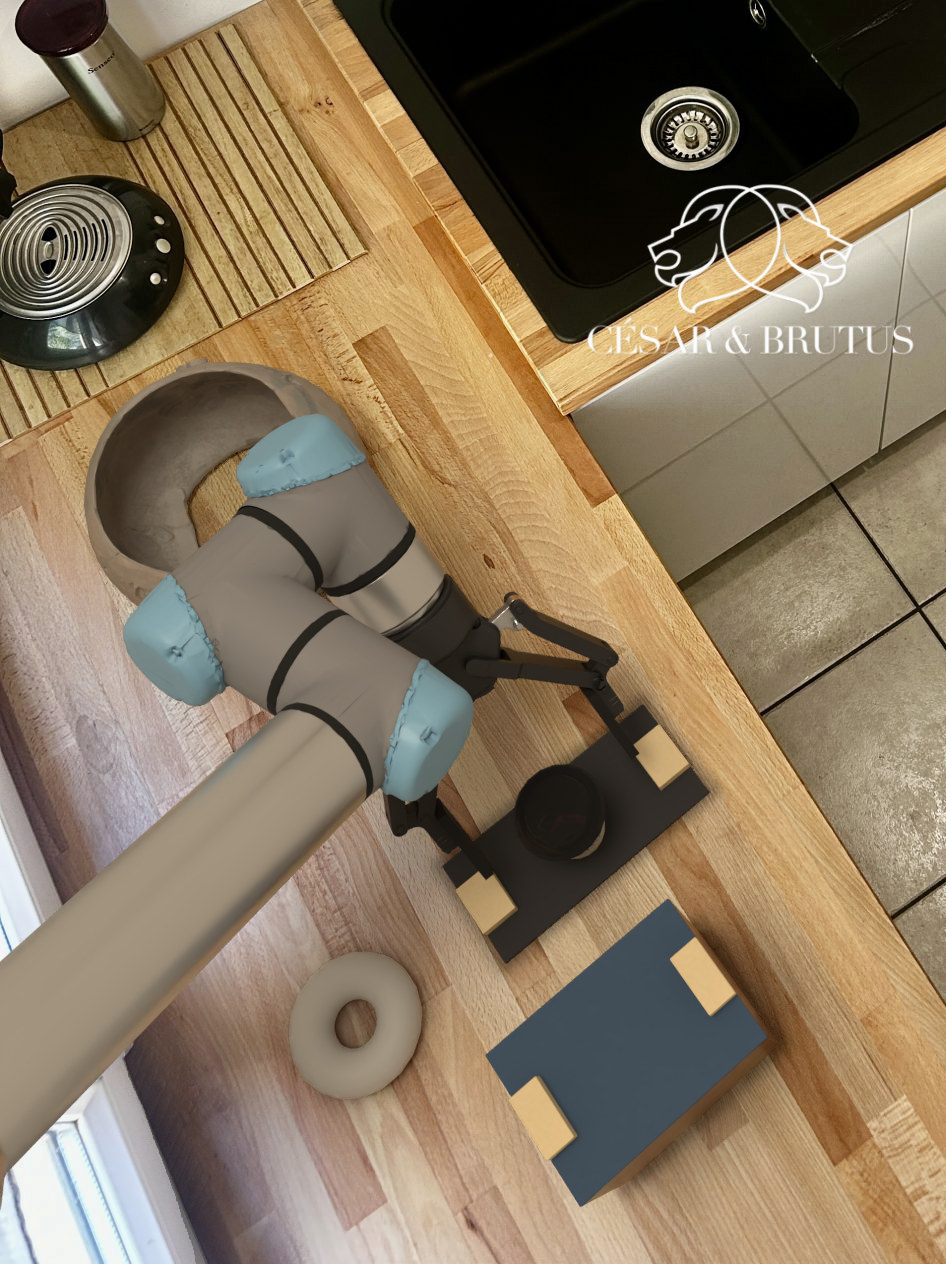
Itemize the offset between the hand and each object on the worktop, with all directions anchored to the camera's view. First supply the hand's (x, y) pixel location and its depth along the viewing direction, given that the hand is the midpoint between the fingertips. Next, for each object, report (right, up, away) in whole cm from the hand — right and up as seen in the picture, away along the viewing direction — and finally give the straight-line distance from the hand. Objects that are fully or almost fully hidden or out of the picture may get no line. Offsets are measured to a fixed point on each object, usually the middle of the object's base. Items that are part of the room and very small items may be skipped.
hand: (559, 808), depth 113 cm
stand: (+8, -18, -2) cm, 19 cm away
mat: (+1, -4, +6) cm, 7 cm away
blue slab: (+7, -6, -23) cm, 25 cm away
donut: (-15, -17, 0) cm, 22 cm away
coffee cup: (+1, -4, +5) cm, 7 cm away
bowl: (-29, +18, +20) cm, 40 cm away
